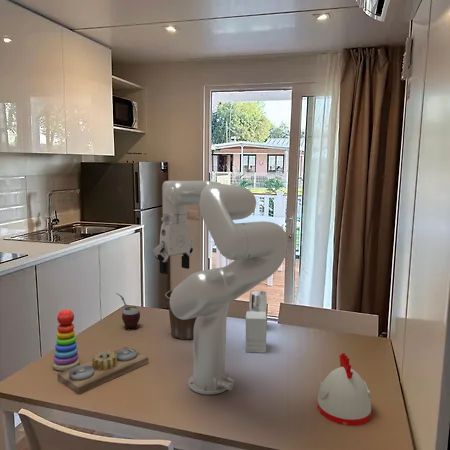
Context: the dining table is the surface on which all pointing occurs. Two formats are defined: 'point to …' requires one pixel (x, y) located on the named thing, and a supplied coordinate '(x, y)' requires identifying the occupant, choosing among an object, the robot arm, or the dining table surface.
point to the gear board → (89, 377)
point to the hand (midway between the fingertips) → (174, 270)
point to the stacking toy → (65, 342)
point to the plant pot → (180, 323)
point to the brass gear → (104, 361)
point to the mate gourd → (130, 316)
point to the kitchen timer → (344, 396)
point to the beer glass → (258, 301)
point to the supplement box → (256, 331)
